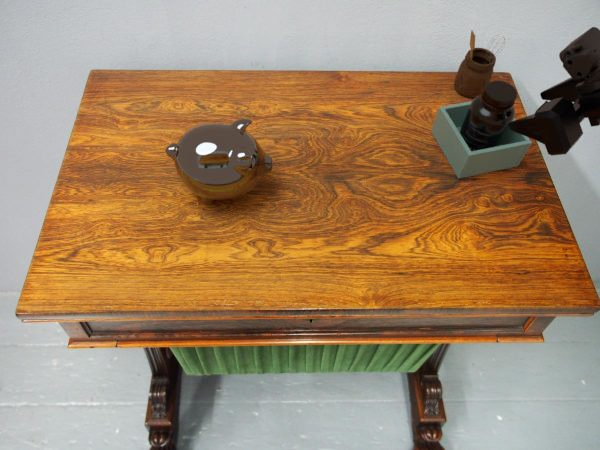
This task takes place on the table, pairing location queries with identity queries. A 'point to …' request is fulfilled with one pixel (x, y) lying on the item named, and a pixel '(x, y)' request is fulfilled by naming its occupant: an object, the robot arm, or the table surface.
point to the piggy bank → (220, 160)
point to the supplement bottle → (489, 116)
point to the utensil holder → (475, 70)
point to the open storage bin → (478, 160)
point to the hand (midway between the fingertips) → (525, 110)
